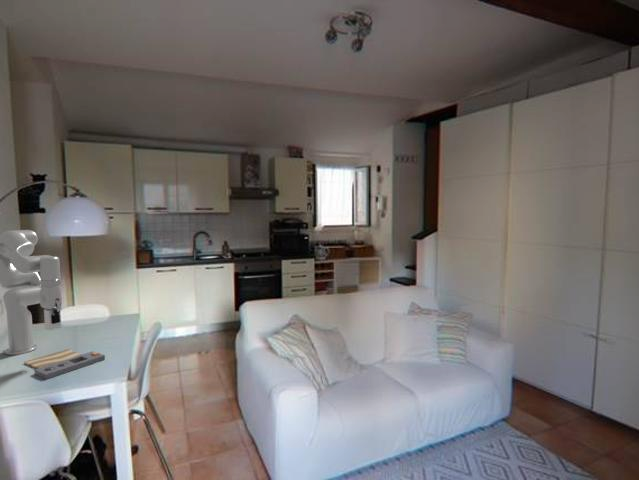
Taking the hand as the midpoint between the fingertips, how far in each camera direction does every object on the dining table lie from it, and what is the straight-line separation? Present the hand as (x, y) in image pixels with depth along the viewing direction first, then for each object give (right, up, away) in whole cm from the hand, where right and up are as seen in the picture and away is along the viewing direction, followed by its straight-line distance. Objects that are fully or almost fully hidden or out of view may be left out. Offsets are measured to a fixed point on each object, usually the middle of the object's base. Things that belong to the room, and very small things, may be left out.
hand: (52, 321), depth 170 cm
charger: (0, -3, 0) cm, 3 cm away
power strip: (+13, -19, -6) cm, 23 cm away
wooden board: (0, -18, +1) cm, 18 cm away
